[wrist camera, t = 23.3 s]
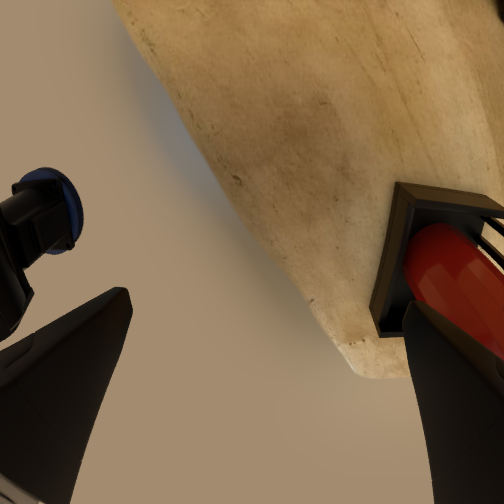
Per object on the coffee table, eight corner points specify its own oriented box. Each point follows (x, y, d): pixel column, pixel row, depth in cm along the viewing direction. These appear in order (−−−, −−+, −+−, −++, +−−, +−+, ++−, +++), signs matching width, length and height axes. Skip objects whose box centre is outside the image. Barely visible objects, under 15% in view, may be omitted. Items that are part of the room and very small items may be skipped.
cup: (399, 230, 20) (489, 364, 9) (465, 216, 19) (571, 322, 8) (400, 296, 23) (457, 430, 12) (460, 280, 22) (534, 394, 10)
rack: (368, 307, 25) (392, 381, 18) (395, 181, 20) (449, 228, 12) (450, 306, 24) (486, 367, 17) (485, 195, 19) (547, 239, 12)
